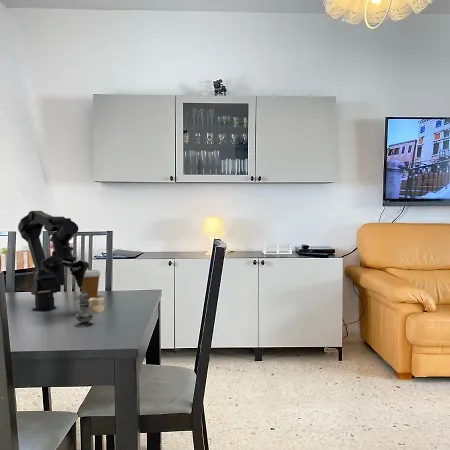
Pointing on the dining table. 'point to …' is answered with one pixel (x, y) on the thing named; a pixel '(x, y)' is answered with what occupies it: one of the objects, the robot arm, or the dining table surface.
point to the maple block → (96, 305)
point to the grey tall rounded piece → (84, 311)
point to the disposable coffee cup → (91, 283)
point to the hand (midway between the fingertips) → (71, 286)
